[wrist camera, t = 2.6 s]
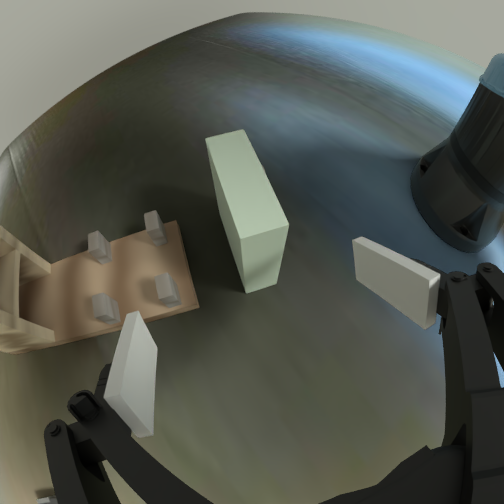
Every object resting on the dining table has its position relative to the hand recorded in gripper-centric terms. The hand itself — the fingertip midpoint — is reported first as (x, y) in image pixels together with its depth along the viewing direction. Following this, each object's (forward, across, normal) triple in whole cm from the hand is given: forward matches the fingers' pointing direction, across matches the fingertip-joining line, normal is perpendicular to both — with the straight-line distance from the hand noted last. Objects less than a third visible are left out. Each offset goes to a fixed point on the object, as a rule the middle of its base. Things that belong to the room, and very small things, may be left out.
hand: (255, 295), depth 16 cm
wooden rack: (+13, -17, -1) cm, 21 cm away
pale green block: (+13, +2, -2) cm, 13 cm away
